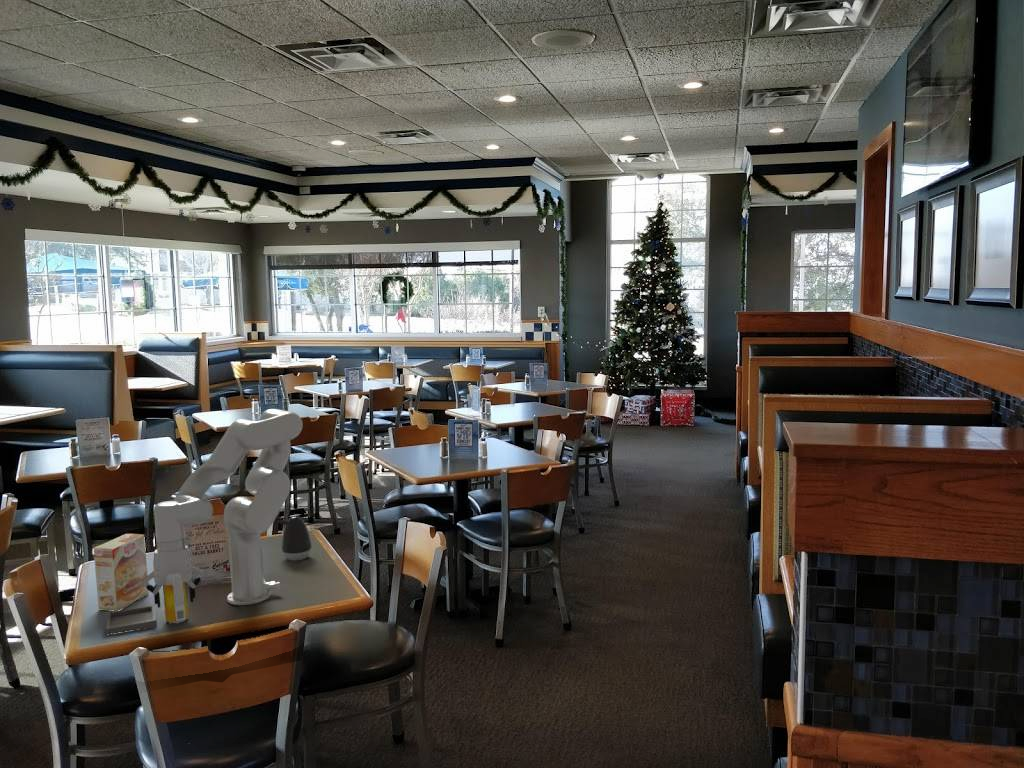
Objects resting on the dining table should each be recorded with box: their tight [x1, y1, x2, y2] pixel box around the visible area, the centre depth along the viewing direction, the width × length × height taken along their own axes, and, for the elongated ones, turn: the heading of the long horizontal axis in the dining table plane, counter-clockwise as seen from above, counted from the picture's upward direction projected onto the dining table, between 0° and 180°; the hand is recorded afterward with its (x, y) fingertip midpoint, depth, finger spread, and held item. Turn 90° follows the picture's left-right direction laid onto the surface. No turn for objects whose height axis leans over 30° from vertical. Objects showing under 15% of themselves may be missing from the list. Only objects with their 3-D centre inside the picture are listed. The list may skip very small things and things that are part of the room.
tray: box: [105, 604, 158, 635], centre depth 245 cm, size 13×13×2 cm
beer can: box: [162, 572, 189, 624], centre depth 245 cm, size 6×6×15 cm
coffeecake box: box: [93, 533, 150, 611], centre depth 260 cm, size 15×7×20 cm, turn 167°
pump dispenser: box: [278, 515, 313, 562], centre depth 297 cm, size 10×10×15 cm
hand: (175, 603), depth 245 cm, fingers open, 8 cm apart
